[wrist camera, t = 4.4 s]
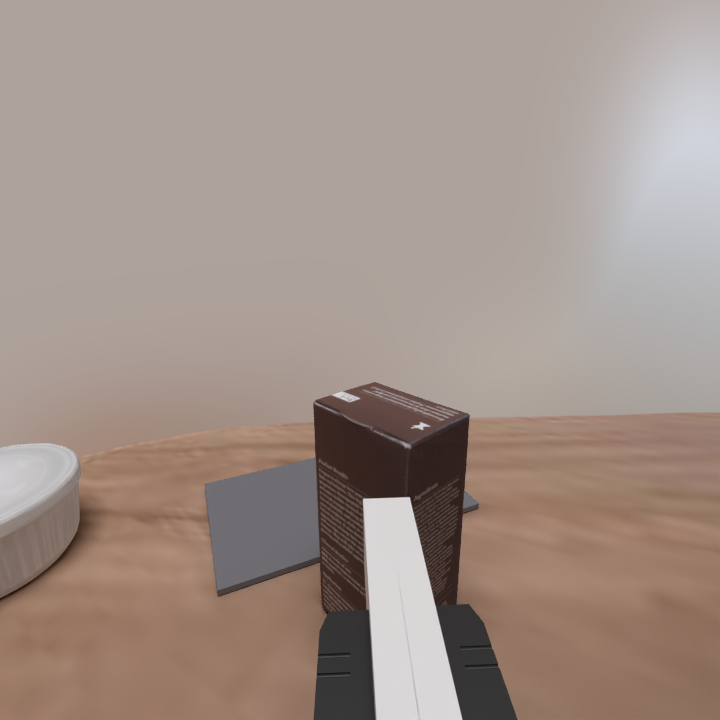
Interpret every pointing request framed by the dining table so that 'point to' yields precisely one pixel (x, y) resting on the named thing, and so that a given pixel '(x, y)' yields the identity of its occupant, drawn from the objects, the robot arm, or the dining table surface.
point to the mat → (267, 524)
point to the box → (387, 483)
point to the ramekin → (35, 509)
